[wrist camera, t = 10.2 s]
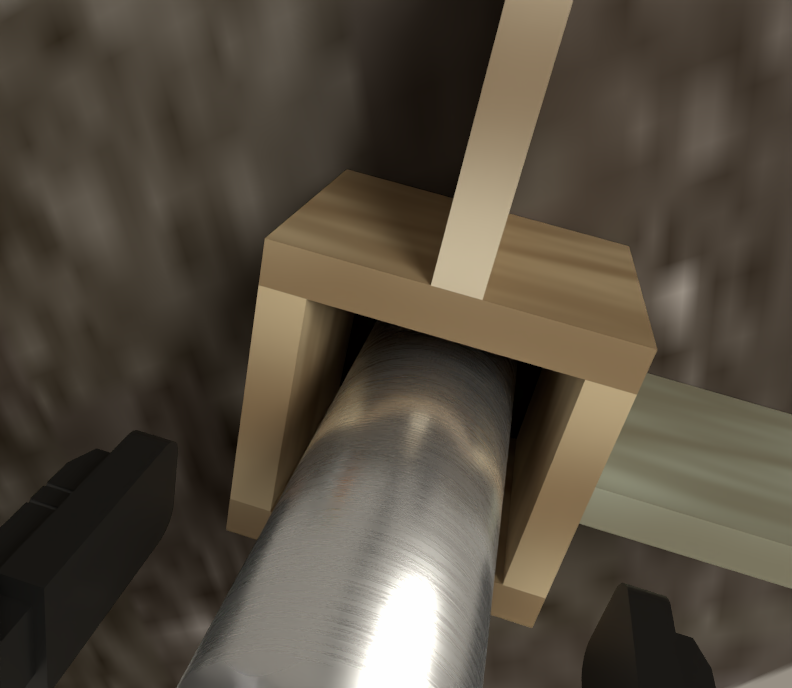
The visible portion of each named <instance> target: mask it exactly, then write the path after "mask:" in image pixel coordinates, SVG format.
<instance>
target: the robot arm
mask: <svg viewBox="0 0 792 688" xmlns="http://www.w3.org/2000/svg"><path fill="white" fill-rule="evenodd" d="M177 456H178V446H177V444H176V442H174V441H170V440H167V439H164V438H161V437H157V436H154V435H151V434H148V433H145V432H141V431H138V430H135V431H132V432H131V433H130V434H129V435H127V437H126V438H125V439H124V440H123V441H122V442H121V443H120V444H119V445H118V446H117V447H116V448H115V449H114V450H113V451H112V452H111V453H109V452H106V451H103V450H100V449H95V450H93V451H91V452H88V453H86V454H84V455H82V456H80V457H78V458H76V459H74V460H72V461H70V462H68V463H67V464H66V465H65V466H64V467H63V468H62V469H61V470H59V471H58V472H57V473H56V474H55V475H54V476H53V477H52V478H51V479H50V480H49V481H48V482H47V485H46V486H43V487H42V488H41V489H40V490H39V491H38V492H37V493H36V494H35V495H34V496H33V497H31V500H30V502H29V503H27V502H26V503H25V504H24V505H23V506H22V507H21V508H20V509H19V510H18V511H17V512H16V513H15V514H14V515H13V516H12V517H11V518H10V519H9V520H8V521H7V522H6V523H5V524H3V525H2V526H1V527H0V688H54V686H55V685H56V684H57V682H58V681H59V679H60V678H61V677H62V675H63V674H64V673H65V671H66V670H67V668H68V667H69V666H70V664H71V663H72V661H73V660H74V659H75V657H76V656H77V655H78V653H79V652H80V650H81V649H82V648H83V646H84V645H85V644H86V642H87V641H88V639H89V638H90V637H91V635H92V634H93V632H94V631H95V630H96V628H97V627H98V626H99V624H100V623H101V621H102V620H103V619H104V617H105V616H106V614H107V613H108V612H109V610H110V609H111V608H112V606H113V605H114V603H115V602H116V601H117V599H118V598H119V597H120V595H121V594H122V592H123V591H124V590H125V588H126V587H127V585H128V584H129V583H130V581H131V580H132V579H133V577H134V576H135V574H136V573H137V572H138V570H139V569H140V567H141V566H142V565H143V563H144V562H145V561H146V559H147V558H148V556H149V555H150V554H151V552H152V551H153V550H154V548H155V547H156V545H157V544H158V543H159V541H160V540H161V538H162V536H163V535H164V533H165V531H166V528H167V526H168V524H169V521H170V518H171V515H172V510H173V504H174V492H175V480H176V468H177ZM582 688H716V687H715V682H714V678H713V673H712V669H711V667H710V665H709V664H708V662H707V660H706V659H705V657H704V655H703V654H702V652H701V651H700V649H699V647H698V646H697V644H696V642H695V641H694V639H693V638H691V637H688V636H685V635H681V634H678V633H675V627H674V621H673V616H672V610H671V605H670V602H669V599H668V598H667V597H666V596H663V595H660V594H657V593H654V592H650V591H647V590H644V589H641V588H638V587H634V586H631V585H628V584H625V583H621V584H620V585H619V586H618V587H617V588H616V590H615V592H614V594H613V596H612V598H611V600H610V602H609V603H608V605H607V607H606V609H605V611H604V613H603V615H602V617H601V619H600V621H599V623H598V625H597V627H596V629H595V631H594V633H593V635H592V637H591V638H590V641H589V643H588V646H587V649H586V652H585V656H584V661H583V667H582Z"/></svg>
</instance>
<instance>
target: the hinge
mask: <svg viewBox="0 0 792 688" xmlns="http://www.w3.org/2000/svg"><path fill="white" fill-rule="evenodd" d="M572 2H573V0H505V3H504V7H503V11H502V15H501V19H500V22H499V26H498V30H497V34H496V38H495V42H494V45H493V49H492V53H491V57H490V61H489V65H488V68H487V72H486V76H485V80H484V84H483V88H482V91H481V95H480V99H479V103H478V107H477V111H476V114H475V118H474V122H473V126H472V130H471V134H470V137H469V141H468V145H467V149H466V153H465V157H464V160H463V164H462V168H461V172H460V176H459V180H458V183H457V187H456V191H455V195H454V198H450V197H447V196H443V195H439V194H436V193H432V192H428V191H425V190H421V189H417V188H414V187H410V186H406V185H403V184H399V183H395V182H392V181H388V180H384V179H381V178H377V177H373V176H370V175H366V174H362V173H359V172H355V171H351V170H348V169H347V170H345V171H344V172H343V173H342V174H341V175H339V176H338V177H337V178H336V179H335V180H334V181H332V182H331V183H330V184H329V185H328V186H326V187H325V188H324V189H323V190H322V191H320V192H319V193H318V194H317V195H316V196H315V197H313V198H312V199H311V200H310V201H309V202H307V203H306V204H305V205H304V206H303V207H301V208H300V209H299V210H298V211H297V212H296V213H294V214H293V215H292V216H291V217H290V218H288V219H287V220H286V221H285V222H284V223H283V224H281V225H280V226H279V227H278V228H277V229H275V230H274V231H273V232H272V233H271V234H269V235H268V236H267V237H266V238H265V241H264V249H263V256H262V264H261V271H260V279H259V286H258V294H257V301H256V309H255V316H254V324H253V331H252V339H251V346H250V354H249V361H248V369H247V376H246V384H245V391H244V399H243V406H242V414H241V421H240V429H239V436H238V444H237V451H236V459H235V466H234V474H233V481H232V489H231V496H230V503H229V511H228V518H227V526H226V530H228V531H231V532H234V533H237V534H240V535H243V536H246V537H250V538H253V539H256V540H257V539H258V537H259V536H260V534H261V532H262V530H263V528H264V526H265V525H266V523H267V521H268V519H269V517H270V515H271V514H272V512H273V510H274V508H275V506H276V504H277V503H278V501H279V499H280V497H281V495H282V493H283V492H284V490H285V488H286V486H287V484H288V482H289V481H290V479H291V477H292V475H293V473H294V471H295V470H296V468H297V466H298V464H299V462H300V460H301V459H302V457H303V455H304V453H305V451H306V449H307V448H308V446H309V444H310V442H311V440H312V438H313V437H314V435H315V433H316V431H317V429H318V427H319V426H320V424H321V422H322V420H323V418H324V416H325V415H326V413H327V411H328V409H329V407H330V405H331V404H332V402H333V400H334V398H335V396H336V395H337V393H338V391H339V389H340V382H341V377H342V372H343V368H344V363H345V358H346V353H347V349H348V344H349V339H350V334H351V329H352V325H353V320H354V315H355V313H356V314H360V315H363V316H367V317H370V318H374V319H377V320H380V321H384V322H387V323H391V324H394V325H398V326H401V327H405V328H408V329H412V330H415V331H418V332H422V333H425V334H429V335H432V336H436V337H439V338H443V339H446V340H450V341H453V342H456V343H460V344H463V345H467V346H470V347H474V348H477V349H481V350H484V351H488V352H491V353H494V354H498V355H501V356H505V357H508V358H512V359H515V360H519V361H522V362H525V363H529V364H532V365H536V366H539V367H543V368H542V370H541V373H540V376H539V379H538V381H537V384H536V387H535V390H534V392H533V395H532V398H531V401H530V403H529V406H528V409H527V411H526V414H525V417H524V420H523V422H522V425H521V428H520V431H519V433H518V436H517V439H514V438H511V437H510V440H509V449H508V458H507V467H506V476H505V486H504V495H503V504H502V513H501V522H500V532H499V541H498V550H497V559H496V569H495V578H494V587H493V596H492V605H491V615H493V616H496V617H499V618H503V619H506V620H509V621H512V622H515V623H518V624H521V625H524V626H528V627H531V628H532V627H533V625H534V623H535V620H536V618H537V616H538V614H539V612H540V609H541V607H542V605H543V603H544V600H545V598H546V596H547V594H548V592H549V589H550V587H551V585H552V583H553V580H554V578H555V576H556V574H557V572H558V569H559V567H560V565H561V563H562V560H563V558H564V556H565V554H566V551H567V549H568V547H569V545H570V543H571V540H572V538H573V536H574V534H575V531H576V529H577V527H578V525H579V524H583V525H586V526H589V527H592V528H596V529H599V530H602V531H605V532H609V533H612V534H615V535H618V536H622V537H625V538H628V539H632V540H635V541H638V542H641V543H645V544H648V545H651V546H654V547H658V548H661V549H664V550H667V551H671V552H674V553H677V554H681V555H684V556H687V557H690V558H694V559H697V560H700V561H703V562H707V563H710V564H713V565H716V566H720V567H723V568H726V569H729V570H733V571H736V572H739V573H743V574H746V575H749V576H752V577H756V578H759V579H762V580H765V581H769V582H772V583H775V584H778V585H782V586H785V587H788V588H791V589H792V415H791V414H788V413H784V412H781V411H777V410H774V409H770V408H767V407H763V406H760V405H757V404H753V403H750V402H746V401H743V400H739V399H736V398H732V397H729V396H725V395H722V394H718V393H715V392H711V391H708V390H704V389H701V388H697V387H694V386H690V385H687V384H683V383H680V382H676V381H673V380H669V379H666V378H662V377H659V376H655V375H652V374H648V373H647V371H648V369H649V367H650V365H651V362H652V360H653V358H654V356H655V354H656V351H657V347H656V343H655V340H654V336H653V332H652V329H651V325H650V321H649V318H648V314H647V311H646V307H645V303H644V300H643V296H642V292H641V289H640V285H639V281H638V278H637V274H636V270H635V267H634V263H633V259H632V256H631V252H630V248H629V246H626V245H622V244H619V243H615V242H611V241H608V240H604V239H600V238H597V237H593V236H589V235H586V234H582V233H578V232H575V231H571V230H568V229H564V228H560V227H557V226H553V225H549V224H546V223H542V222H538V221H535V220H531V219H527V218H524V217H520V216H516V215H513V214H509V211H510V207H511V204H512V201H513V197H514V194H515V191H516V188H517V184H518V181H519V178H520V174H521V171H522V168H523V164H524V161H525V158H526V154H527V151H528V148H529V145H530V141H531V138H532V135H533V131H534V128H535V125H536V121H537V118H538V115H539V111H540V108H541V105H542V102H543V98H544V95H545V92H546V88H547V85H548V82H549V78H550V75H551V72H552V68H553V65H554V62H555V59H556V55H557V52H558V49H559V45H560V42H561V39H562V35H563V32H564V29H565V25H566V22H567V19H568V16H569V12H570V9H571V6H572Z"/></svg>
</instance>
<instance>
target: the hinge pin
mask: <svg viewBox="0 0 792 688" xmlns="http://www.w3.org/2000/svg"><path fill="white" fill-rule="evenodd" d="M517 366H518V360H515V359H512V358H508V357H505V356H501V355H498V354H494V353H491V352H488V351H484V350H481V349H477V348H474V347H470V346H467V345H463V344H460V343H456V342H453V341H450V340H446V339H443V338H439V337H436V336H432V335H429V334H425V333H422V332H418V331H415V330H412V329H408V328H405V327H401V326H398V325H394V324H391V323H387V322H384V321H380V320H377V321H376V323H375V325H374V327H373V329H372V330H371V332H370V334H369V336H368V338H367V340H366V341H365V343H364V345H363V347H362V349H361V351H360V352H359V354H358V356H357V358H356V360H355V362H354V363H353V365H352V367H351V369H350V371H349V373H348V374H347V376H346V378H345V380H344V382H343V384H342V385H341V387H340V389H339V391H338V393H337V395H336V396H335V398H334V400H333V402H332V404H331V405H330V407H329V409H328V411H327V413H326V415H325V416H324V418H323V420H322V422H321V424H320V426H319V427H318V429H317V431H316V433H315V435H314V437H313V438H312V440H311V442H310V444H309V446H308V448H307V449H306V451H305V453H304V455H303V457H302V459H301V460H300V462H299V464H298V466H297V468H296V470H295V471H294V473H293V475H292V477H291V479H290V481H289V482H288V484H287V486H286V488H285V490H284V492H283V493H282V495H281V497H280V499H279V501H278V503H277V504H276V506H275V508H274V510H273V512H272V514H271V515H270V517H269V519H268V521H267V523H266V525H265V526H264V528H263V530H262V532H261V534H260V536H259V537H258V539H257V541H256V543H255V545H254V547H253V548H252V550H251V552H250V554H249V556H248V558H247V559H246V561H245V563H244V565H243V567H242V569H241V570H240V572H239V574H238V576H237V578H236V580H235V581H234V583H233V585H232V587H231V589H230V590H229V592H228V594H227V596H226V598H225V600H224V601H223V603H222V605H221V607H220V609H219V611H218V612H217V614H216V616H215V618H214V620H213V622H212V623H211V625H210V627H209V629H208V631H207V633H206V634H205V636H204V638H203V640H202V642H201V644H200V645H199V647H198V649H197V651H196V653H195V655H194V656H193V658H192V660H191V662H190V664H189V666H188V667H187V669H186V671H185V673H184V675H183V677H182V678H181V680H180V682H179V684H178V686H177V688H483V679H484V670H485V661H486V651H487V642H488V633H489V624H490V615H491V605H492V596H493V587H494V578H495V569H496V559H497V550H498V541H499V532H500V522H501V513H502V504H503V495H504V486H505V476H506V467H507V458H508V449H509V440H510V430H511V421H512V412H513V403H514V394H515V384H516V375H517Z"/></svg>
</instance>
